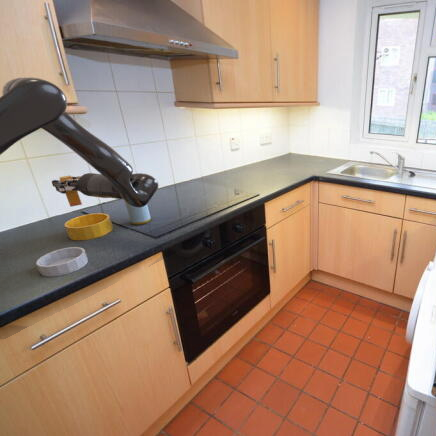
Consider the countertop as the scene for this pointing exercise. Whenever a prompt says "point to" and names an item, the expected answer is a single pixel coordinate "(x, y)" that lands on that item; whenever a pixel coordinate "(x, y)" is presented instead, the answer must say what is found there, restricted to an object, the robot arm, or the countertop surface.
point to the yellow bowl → (88, 226)
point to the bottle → (138, 214)
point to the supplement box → (71, 194)
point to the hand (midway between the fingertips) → (61, 181)
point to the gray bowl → (62, 261)
